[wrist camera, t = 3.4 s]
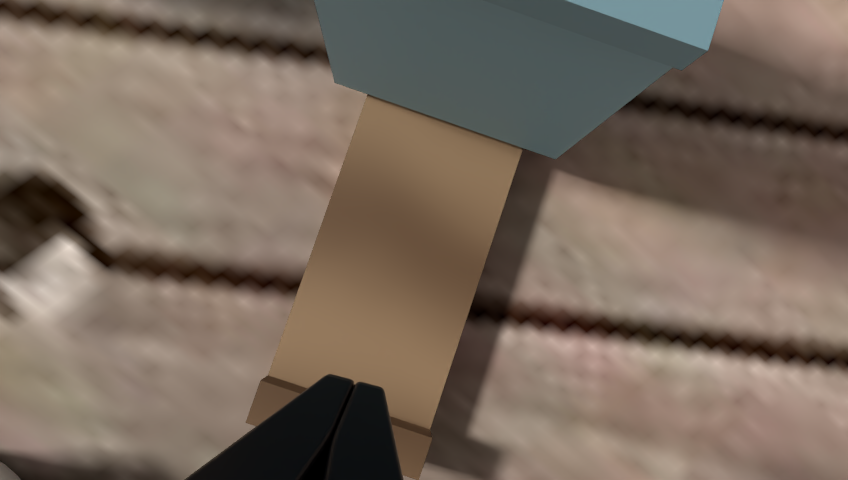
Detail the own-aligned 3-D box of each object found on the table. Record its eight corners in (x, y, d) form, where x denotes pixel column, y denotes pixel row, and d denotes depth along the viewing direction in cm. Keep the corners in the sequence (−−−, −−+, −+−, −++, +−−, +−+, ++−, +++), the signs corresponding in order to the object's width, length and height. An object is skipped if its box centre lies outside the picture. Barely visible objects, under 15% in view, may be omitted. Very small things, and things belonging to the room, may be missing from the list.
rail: (415, 459, 22) (418, 479, 19) (261, 408, 22) (245, 422, 19) (642, -228, 24) (671, -286, 21) (503, -278, 24) (517, -342, 21)
